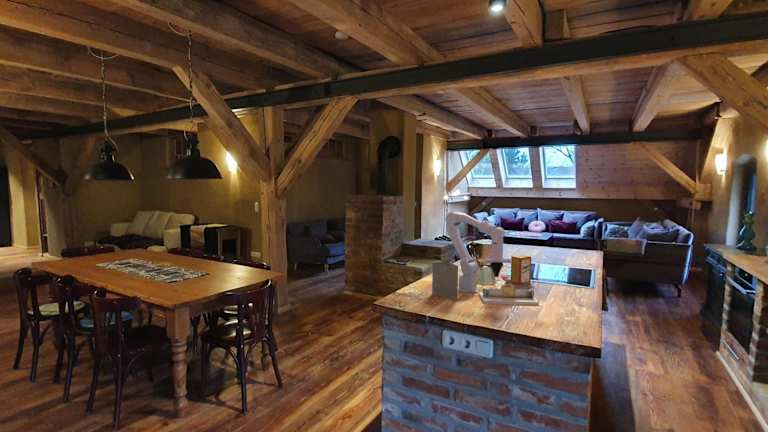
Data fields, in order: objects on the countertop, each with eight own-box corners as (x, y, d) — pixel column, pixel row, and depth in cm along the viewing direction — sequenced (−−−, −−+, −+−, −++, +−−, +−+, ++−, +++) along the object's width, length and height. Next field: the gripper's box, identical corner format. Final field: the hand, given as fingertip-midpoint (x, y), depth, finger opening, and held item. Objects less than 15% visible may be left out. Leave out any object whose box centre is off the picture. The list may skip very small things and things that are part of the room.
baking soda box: (519, 285, 221) (520, 257, 220) (510, 282, 227) (511, 255, 226) (530, 282, 226) (531, 255, 225) (521, 280, 232) (522, 254, 231)
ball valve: (484, 299, 191) (484, 284, 191) (482, 295, 197) (482, 281, 197) (534, 300, 189) (534, 285, 189) (530, 297, 195) (531, 282, 194)
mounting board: (483, 303, 188) (483, 300, 187) (479, 295, 202) (479, 292, 201) (538, 305, 185) (538, 302, 185) (530, 296, 199) (530, 293, 199)
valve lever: (511, 283, 191) (511, 280, 191) (506, 283, 191) (506, 280, 191) (505, 277, 203) (505, 274, 203) (500, 277, 204) (500, 274, 203)
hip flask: (430, 294, 203) (431, 256, 201) (436, 292, 206) (436, 255, 204) (454, 301, 191) (455, 261, 189) (459, 299, 193) (460, 260, 192)
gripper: (486, 252, 194) (485, 278, 195) (513, 252, 196) (513, 278, 197) (481, 250, 201) (480, 275, 202) (508, 249, 203) (507, 274, 204)
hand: (496, 276), depth 200 cm, fingers closed
